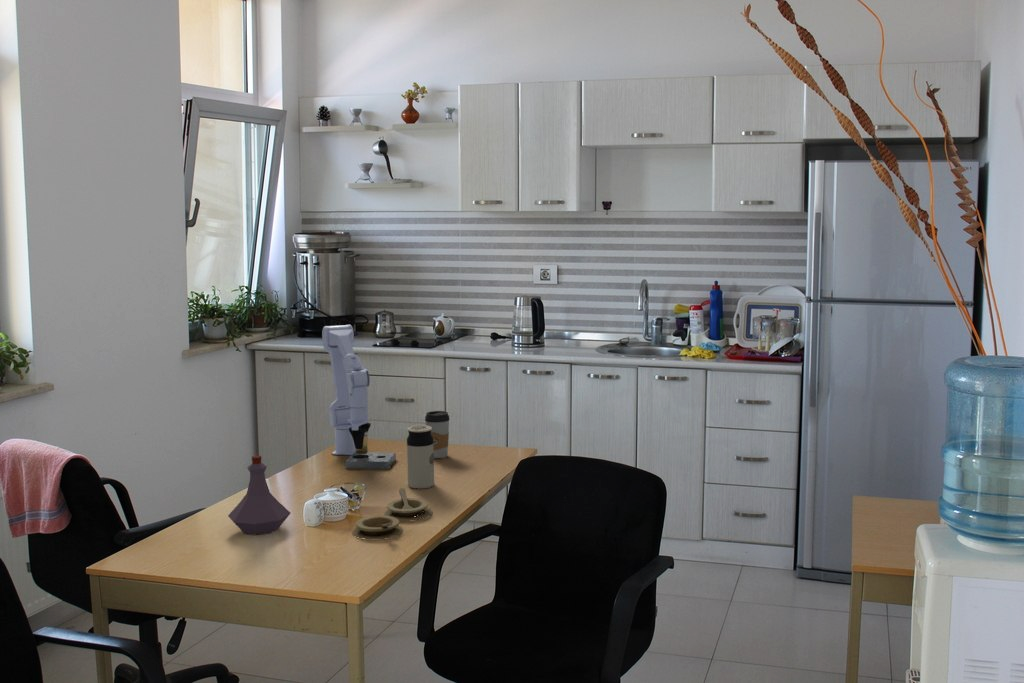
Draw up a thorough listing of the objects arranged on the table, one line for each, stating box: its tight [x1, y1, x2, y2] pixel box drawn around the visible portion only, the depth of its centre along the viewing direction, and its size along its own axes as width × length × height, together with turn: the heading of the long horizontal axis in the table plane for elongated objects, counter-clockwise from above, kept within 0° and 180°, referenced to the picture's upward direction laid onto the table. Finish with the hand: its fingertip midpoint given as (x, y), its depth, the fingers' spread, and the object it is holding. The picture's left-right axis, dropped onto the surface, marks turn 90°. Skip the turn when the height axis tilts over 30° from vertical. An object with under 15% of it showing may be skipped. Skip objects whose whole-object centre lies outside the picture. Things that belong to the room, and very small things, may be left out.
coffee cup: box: [424, 410, 450, 459], centre depth 347 cm, size 8×8×15 cm
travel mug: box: [406, 424, 435, 490], centre depth 312 cm, size 8×8×18 cm
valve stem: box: [355, 430, 369, 454], centre depth 339 cm, size 4×4×7 cm
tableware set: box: [351, 487, 433, 540], centre depth 278 cm, size 30×20×6 cm, turn 157°
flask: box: [227, 455, 291, 537], centre depth 273 cm, size 16×16×20 cm
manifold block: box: [344, 451, 397, 470], centre depth 339 cm, size 12×14×2 cm
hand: (360, 447), depth 339 cm, fingers closed on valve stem, 4 cm apart
